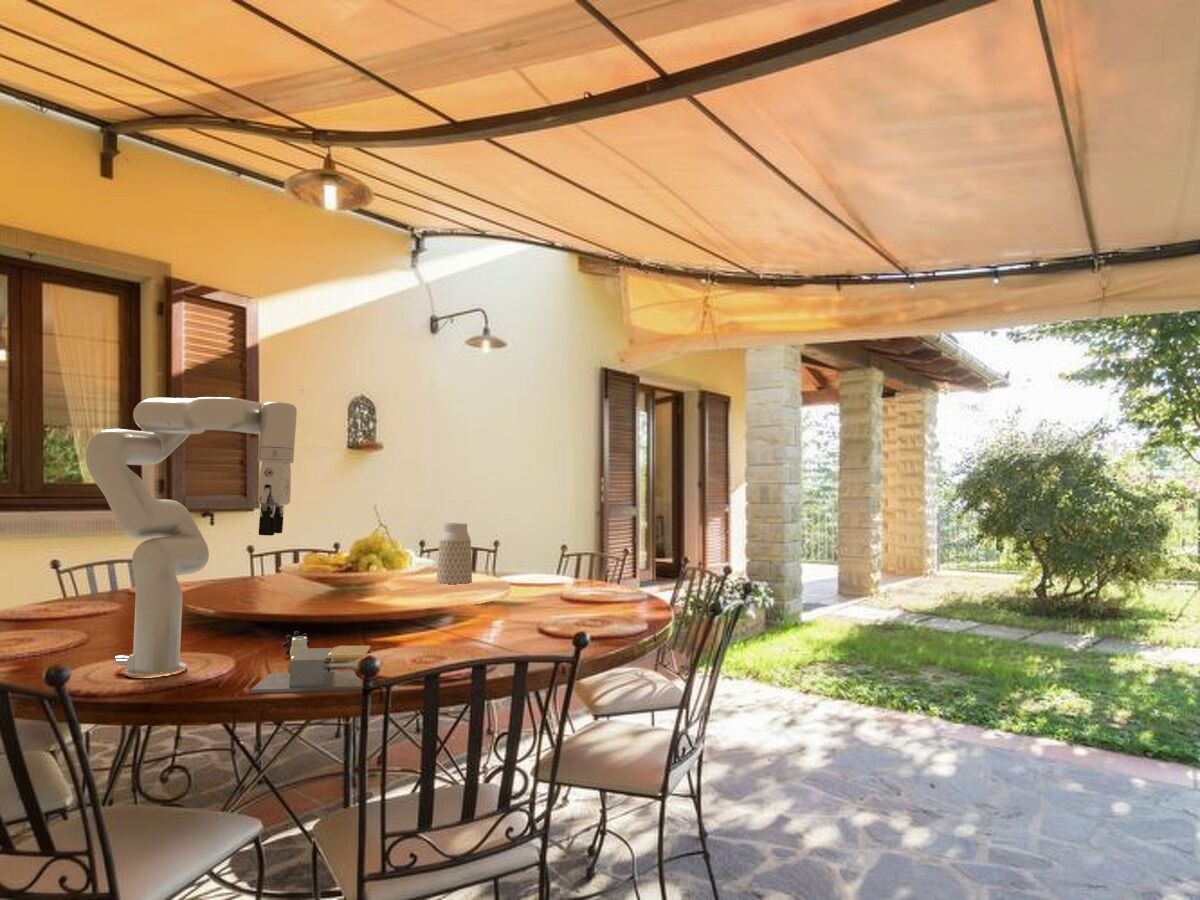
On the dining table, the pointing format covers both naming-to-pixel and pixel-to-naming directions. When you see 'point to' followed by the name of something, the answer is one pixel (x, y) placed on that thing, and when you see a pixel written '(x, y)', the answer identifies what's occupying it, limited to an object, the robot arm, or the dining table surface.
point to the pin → (337, 664)
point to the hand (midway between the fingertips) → (270, 533)
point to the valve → (296, 643)
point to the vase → (454, 555)
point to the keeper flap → (348, 652)
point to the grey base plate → (309, 675)
